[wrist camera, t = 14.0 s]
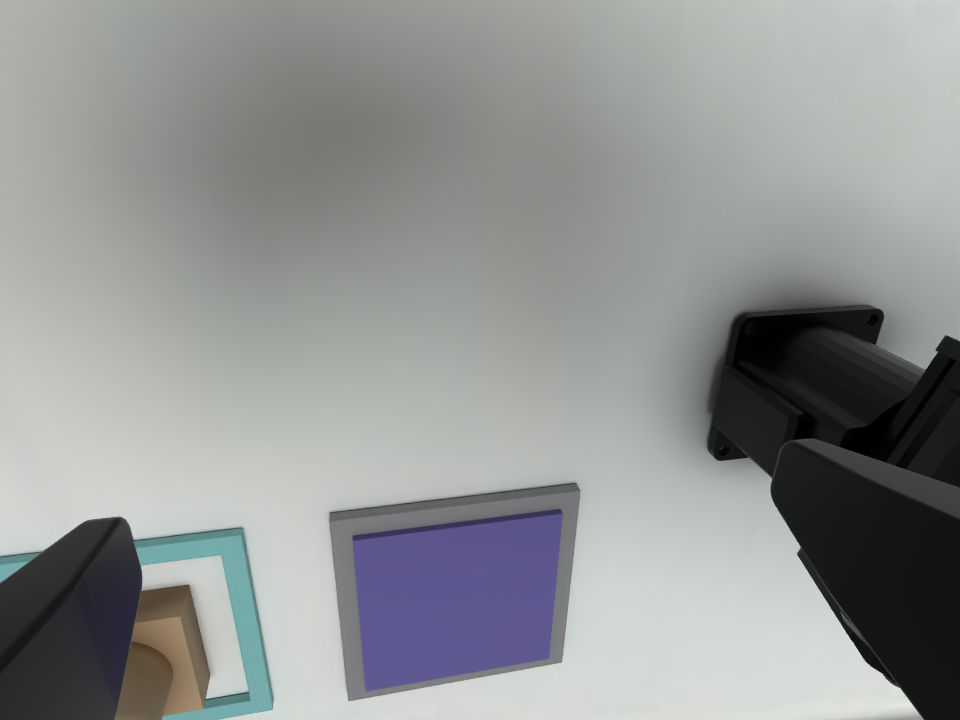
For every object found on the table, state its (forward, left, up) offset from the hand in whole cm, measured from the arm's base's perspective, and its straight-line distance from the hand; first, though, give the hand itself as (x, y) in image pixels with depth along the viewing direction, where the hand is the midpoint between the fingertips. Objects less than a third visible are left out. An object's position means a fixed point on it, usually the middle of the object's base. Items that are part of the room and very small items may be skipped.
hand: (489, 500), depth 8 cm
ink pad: (-2, +15, -13) cm, 20 cm away
